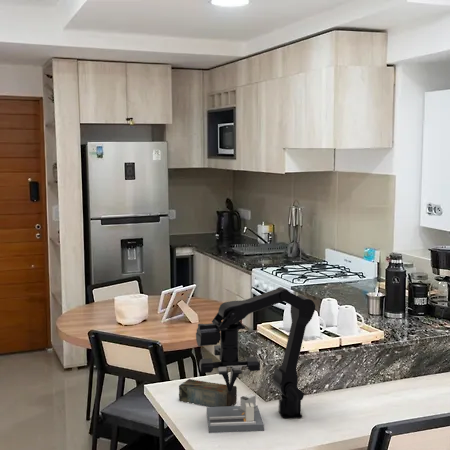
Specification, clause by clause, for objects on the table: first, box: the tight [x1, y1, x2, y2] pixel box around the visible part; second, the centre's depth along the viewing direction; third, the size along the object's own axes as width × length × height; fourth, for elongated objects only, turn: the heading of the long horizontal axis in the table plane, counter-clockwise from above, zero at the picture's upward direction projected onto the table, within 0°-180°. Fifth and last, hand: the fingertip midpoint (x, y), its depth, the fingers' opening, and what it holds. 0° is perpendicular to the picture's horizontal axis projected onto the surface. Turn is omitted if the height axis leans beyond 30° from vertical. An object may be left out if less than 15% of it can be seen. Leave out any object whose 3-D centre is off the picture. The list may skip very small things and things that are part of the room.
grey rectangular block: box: [239, 393, 257, 411], centre depth 205 cm, size 5×2×4 cm, turn 135°
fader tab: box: [245, 403, 254, 422], centre depth 196 cm, size 2×3×5 cm
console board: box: [206, 404, 265, 434], centre depth 200 cm, size 17×15×3 cm
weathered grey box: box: [178, 378, 238, 407], centre depth 216 cm, size 8×19×7 cm, turn 65°
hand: (229, 390), depth 198 cm, fingers closed
